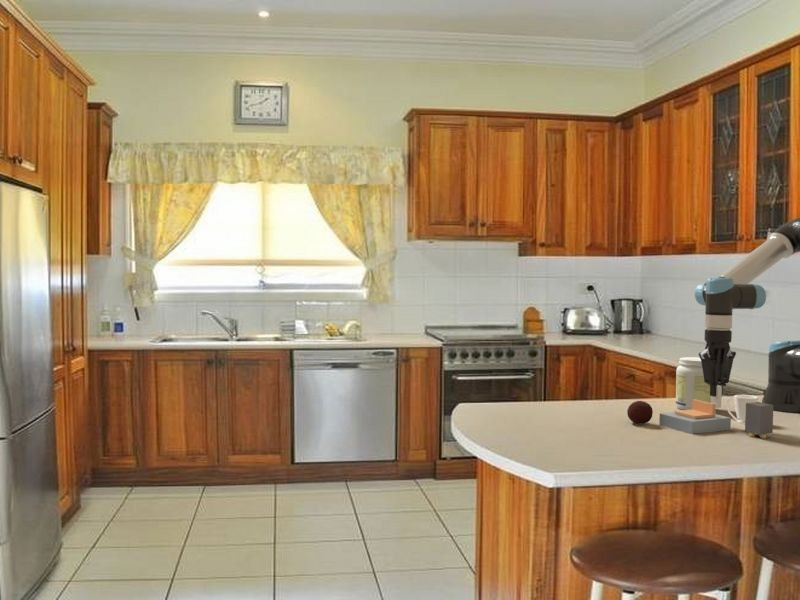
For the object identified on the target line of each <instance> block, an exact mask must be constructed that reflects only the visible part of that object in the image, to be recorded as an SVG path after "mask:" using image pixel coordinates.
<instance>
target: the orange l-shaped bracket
mask: <svg viewBox="0 0 800 600" xmlns="http://www.w3.org/2000/svg"><path fill="white" fill-rule="evenodd" d="M716 410H717V409H716V404H714V403H709V402H704V401H700V400H692V410H681V409H680V410H675V411H674V412H675V414H678V415H682V416H686V417H690V418H694V419H698V418H708V417H715V414H716V412H717V411H716Z"/></svg>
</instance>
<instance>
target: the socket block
mask: <svg viewBox="0 0 800 600" xmlns="http://www.w3.org/2000/svg"><path fill="white" fill-rule="evenodd" d="M731 424H732V418H731V417H728V416H725V415H720V414H717V413H715V417H708V418H698V419H694V418H690V417H686V416H682V415H678V414H675V411H671V412H670V411H669V412H661V413H659V426H662V427H666V428H668V429H674V430H676V431H680V432H684V433H687V434H690V435H691V434H692V435H694V434H702V433H703V434H704V433H711V432H719V431H730V430H731Z"/></svg>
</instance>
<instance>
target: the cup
mask: <svg viewBox="0 0 800 600" xmlns="http://www.w3.org/2000/svg"><path fill="white" fill-rule="evenodd" d="M731 400H734V401H733V402H734V408H735V409H734V410H735V414H736V416H735V415H734V414H733V413H732V412H731V409H730V403H731ZM758 400H759V396H756V395H753V394H751V395H750V394H735V395H733V397H732V396H731V397H730V398H729V399H728V400H727V403H726V410H727V412H728V414H729V415H730V416H731V417H732V418H733V420H735V421H737V423H739V422H740V424H744V423H745V417H746V403H752V402H759V401H758Z"/></svg>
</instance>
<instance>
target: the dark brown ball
mask: <svg viewBox="0 0 800 600" xmlns="http://www.w3.org/2000/svg"><path fill="white" fill-rule="evenodd" d="M653 412H654V410H653V407H652V406H651V404H650V403H648V402H647V401H643V400H637V401H634V402H631V404H630V405H628V407H627V413H626V414H627V417H628V419H629V420H630V421H631V422H632V423H634V424H637V425H643V424H646V423H648V422H650V420H652V417H653Z"/></svg>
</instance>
